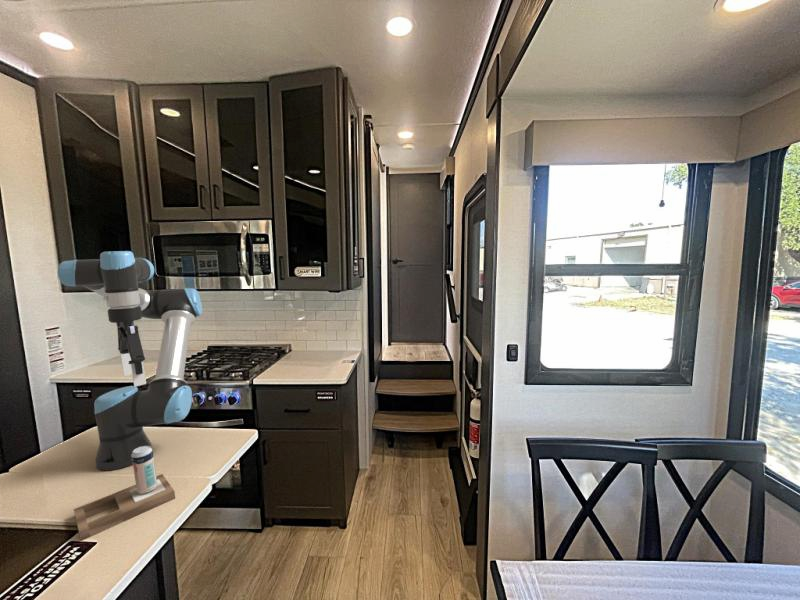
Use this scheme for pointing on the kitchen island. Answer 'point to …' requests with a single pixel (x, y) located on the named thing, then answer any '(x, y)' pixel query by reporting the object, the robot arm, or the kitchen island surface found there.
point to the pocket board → (121, 507)
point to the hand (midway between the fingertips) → (134, 379)
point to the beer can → (144, 469)
